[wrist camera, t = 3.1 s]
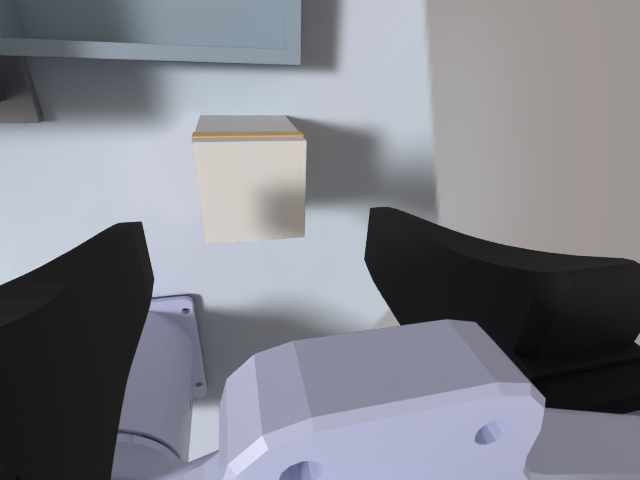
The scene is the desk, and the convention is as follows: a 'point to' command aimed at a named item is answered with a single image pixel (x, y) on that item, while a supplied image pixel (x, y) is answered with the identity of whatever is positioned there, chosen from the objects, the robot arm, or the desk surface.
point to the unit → (17, 92)
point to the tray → (154, 30)
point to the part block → (250, 177)
